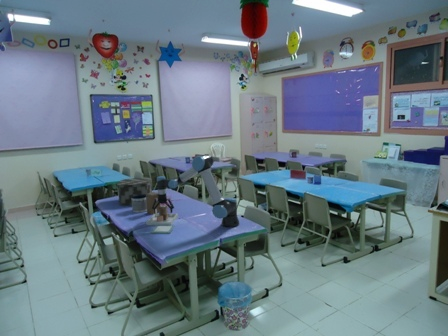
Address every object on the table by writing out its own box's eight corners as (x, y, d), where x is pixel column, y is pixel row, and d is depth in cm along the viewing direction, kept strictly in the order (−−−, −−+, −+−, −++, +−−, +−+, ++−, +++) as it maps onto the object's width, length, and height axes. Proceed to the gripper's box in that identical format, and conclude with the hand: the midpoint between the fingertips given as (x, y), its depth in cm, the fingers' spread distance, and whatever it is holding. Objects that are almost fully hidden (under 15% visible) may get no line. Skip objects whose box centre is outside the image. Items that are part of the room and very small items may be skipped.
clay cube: (163, 222, 289) (163, 215, 288) (162, 223, 284) (162, 217, 283) (157, 222, 289) (157, 215, 288) (157, 224, 284) (156, 217, 283)
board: (174, 226, 278) (174, 225, 277) (169, 233, 262) (169, 232, 262) (156, 226, 279) (156, 225, 279) (150, 233, 264) (150, 232, 263)
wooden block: (161, 212, 319) (159, 193, 316) (152, 215, 312) (151, 195, 309) (155, 211, 326) (153, 191, 323) (146, 213, 319) (145, 193, 316)
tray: (178, 217, 304) (177, 213, 303) (171, 226, 280) (170, 222, 279) (154, 217, 306) (154, 213, 306) (145, 226, 282) (145, 222, 282)
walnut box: (167, 218, 299) (167, 205, 297) (166, 220, 293) (165, 207, 292) (161, 218, 300) (160, 205, 298) (159, 220, 294) (158, 207, 292)
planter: (140, 213, 319) (139, 199, 317) (129, 211, 327) (127, 197, 325) (151, 209, 333) (150, 195, 330) (140, 207, 341) (139, 194, 338)
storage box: (123, 198, 382) (121, 179, 379) (153, 196, 386) (152, 177, 382) (117, 206, 348) (115, 185, 344) (150, 204, 352) (149, 183, 348)
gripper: (176, 192, 295) (177, 214, 299) (150, 192, 298) (151, 214, 301) (174, 194, 288) (175, 217, 291) (147, 194, 290) (148, 217, 294)
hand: (163, 216), depth 296 cm, fingers open, 13 cm apart
